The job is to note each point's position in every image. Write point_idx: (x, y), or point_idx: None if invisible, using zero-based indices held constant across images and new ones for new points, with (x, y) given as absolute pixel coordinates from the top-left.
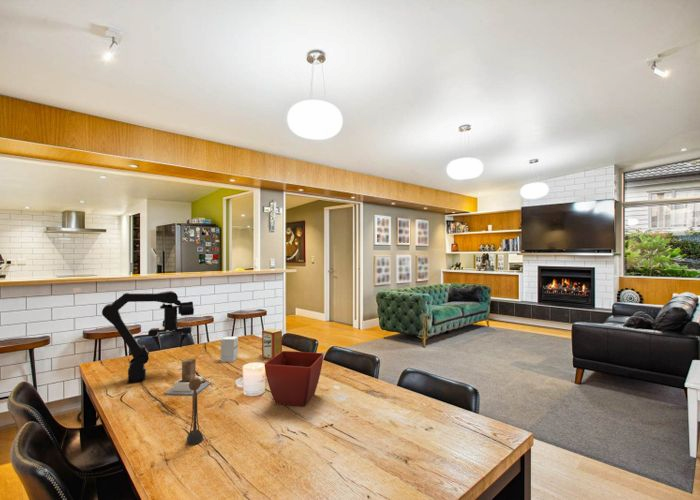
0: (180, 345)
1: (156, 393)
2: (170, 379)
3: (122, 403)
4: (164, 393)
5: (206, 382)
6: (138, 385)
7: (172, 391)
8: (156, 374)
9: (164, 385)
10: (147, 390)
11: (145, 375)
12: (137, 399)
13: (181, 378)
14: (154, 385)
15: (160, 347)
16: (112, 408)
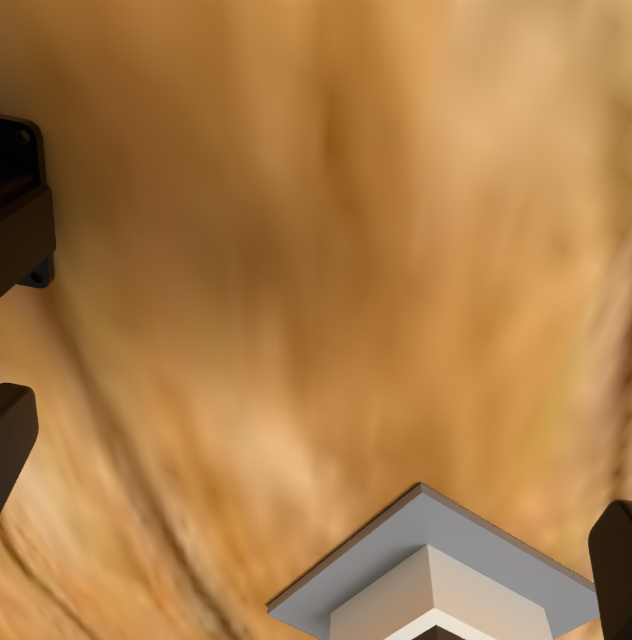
0: (607, 629)
1: (221, 569)
2: (332, 353)
3: (43, 599)
4: (271, 615)
5: (583, 596)
6: (43, 360)
7: (321, 616)
8: (166, 56)
9: (272, 469)
10: (150, 498)
11: (38, 232)
12: (116, 592)
13: (395, 636)
14: (189, 429)
15: (5, 471)
16: (12, 625)
